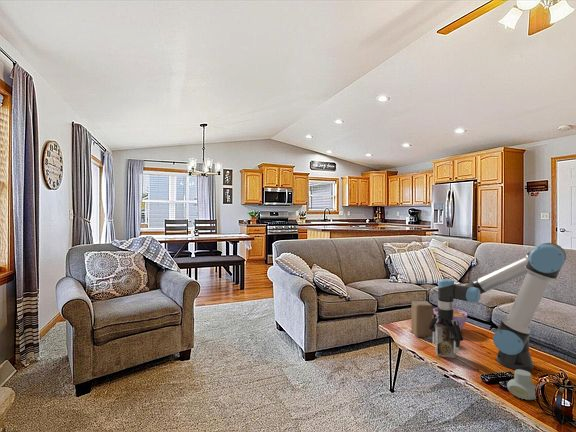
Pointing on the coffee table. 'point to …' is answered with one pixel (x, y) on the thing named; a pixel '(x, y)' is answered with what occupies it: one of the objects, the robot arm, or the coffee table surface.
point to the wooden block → (421, 318)
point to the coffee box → (444, 341)
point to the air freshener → (522, 385)
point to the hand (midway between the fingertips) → (445, 348)
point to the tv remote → (429, 339)
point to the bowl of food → (456, 316)
